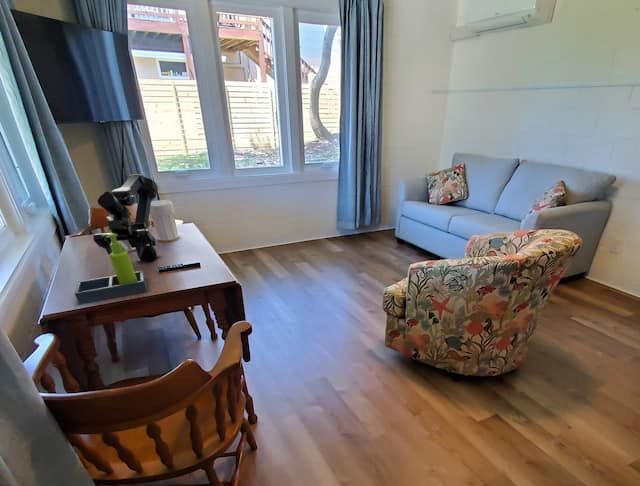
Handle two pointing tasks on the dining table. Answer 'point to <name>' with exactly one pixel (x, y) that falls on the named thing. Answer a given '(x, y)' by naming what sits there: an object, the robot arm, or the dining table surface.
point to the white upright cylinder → (164, 220)
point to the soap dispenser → (121, 261)
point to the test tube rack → (124, 243)
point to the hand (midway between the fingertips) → (125, 258)
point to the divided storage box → (108, 288)
